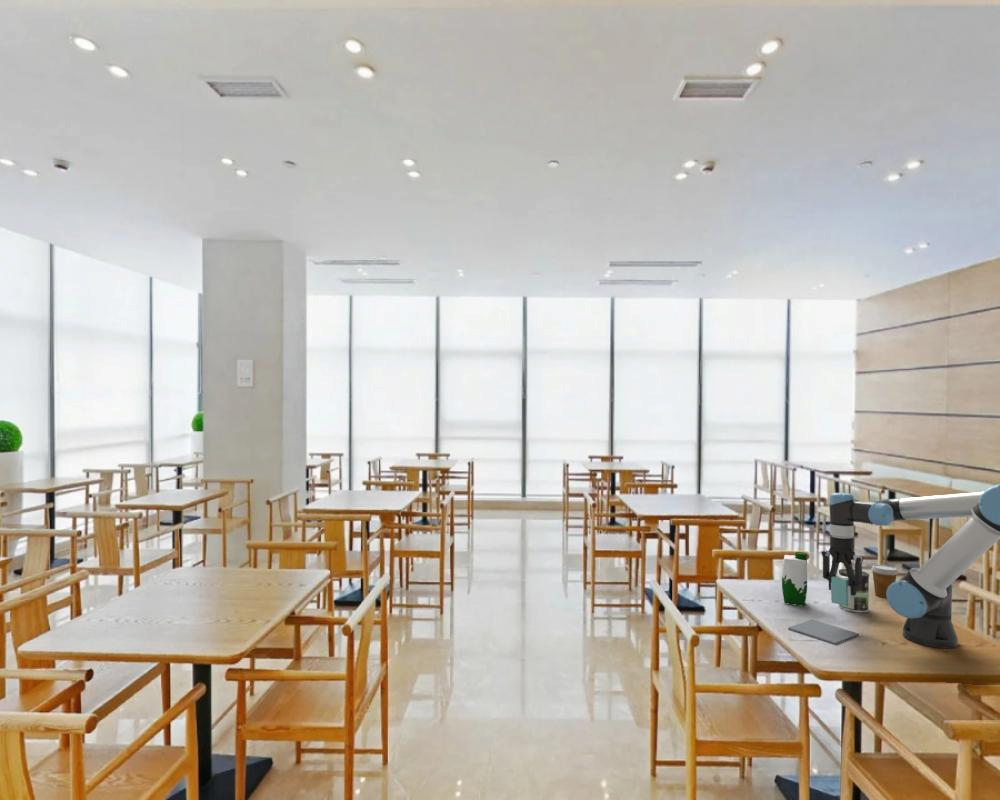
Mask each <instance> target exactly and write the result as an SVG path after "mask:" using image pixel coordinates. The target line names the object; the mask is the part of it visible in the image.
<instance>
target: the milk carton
mask: <svg viewBox="0 0 1000 800" xmlns="http://www.w3.org/2000/svg"><path fill="white" fill-rule="evenodd" d="M807 557H808V555H807V553H806V552H803V551H795V553H794V555H793V554H791V555H790V554H784V555H783V562H782V568H781V588H782V589H781V591H782V597H783V602H784V604H785V603H789V604H788V605H791V604H796V605H795V606H798V605H802V606H801V607H805V605H806V600H807V594H808V558H807Z"/></svg>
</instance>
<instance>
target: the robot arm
mask: <svg viewBox="0 0 1000 800" xmlns="http://www.w3.org/2000/svg"><path fill="white" fill-rule="evenodd" d="M828 506H829V535H830V536H829V546H830V547H829V548H828V550H822V551H821V552H820V553H821V555H822V578H823V579H825V580H827V581H828V591H830V599H831V601H832V579H831V577H833V576H837V574H838V570H839V566H840V563H841V564H843V566H844V569H846V571H847V575H848V579H849V583H850V585H849V586H848V605H852V604H854V595H856V586H859V585H862V571H863V567H862V566H863V561H864V557H863V556H859V555H857V554H856V553H855V549H854V548H855V539H854V536H855V532H854V531H855V530H854V529H855V527H854V523H864V524H867V525H868V524H869V525H875V526H890V525H891V524H892V522H896V521H897V522H898V521H909V520H928V519H930V520H932V519H945V518H946V519H947V518H950V519H951V518H966V517H967V518H968V517H970V518H969V519H968V520H967V522H965V523H964V524H963V525H962V526H961V527H960V528H959V529H958V530H957V531H956V532H955V533H954V534H953V535H952V536H951V537H949V538H948V540H947V541H946V542H945V543H944V544H943V545H941V547H940V548H939V549H938V550H937V551H936V552H935V553H934V554H933V555H932V556H931V557H929V558H928V559H927V560H926V562H924V563H923V564H922V565H921V566H919V567H911V568H910V569H909V570H908V571H907V572H906V573H905V574H904V575H903V576H901V578H900V579H899V580H896V581H895V582H893V583H892V584H891V585H890V586H889V587H888V589H887V592H886V596H887V598H886V599H887V600H886V601H887V603H888V605H889V606H890V608H891V609H892V610H893V611H894V612H895V613H896V614H898V615H900V616H901V617H903V618H906V620H905V622H904V625H903V627H902V636H903V637H904V638H906V639H907V640H909V641H911V640H912V641H911V642H913V641H914V642H913V643H917V644H919V643H920V645H923V646H927V647H933V648H940V649H954V648H957V647H958V645H959V643H958V642H959V640H958V636H957V633H956V629H955V627H954V625H953V622H952V613H953V612H952V609H953V607H952V605H953V604H952V603H953V586H954V585H953V583H954V582H955V581H956V580H957V579H958V578H959V577H960V576H962V575H963V574H964V573H965V572H966V571H967V570H968V569H969V568H971V566H972V565H974V564H975V563H976V562H977V561H978V560H979V559H980V558H981V557H982V556H983V555H984V554H985V553H986V552H987V551H989V550H990V548H992V546H994V545H995V544H997V542H998V541H999V540H1000V483H998V484H995V485H992V486H990V487H988V488H986V490H985V491H974V492H971V491H970V492H962V493H951V494H949V493H948V494H938V495H927V496H914V497H902V498H888V499H887V498H886V499H883V500H874V501H863V500H856V499H855V498H854V495H853V494H852V493H847V492H832V493H830V495H829V505H828ZM830 556H831V557H832V560H831V559H830ZM830 560H831V561H830ZM852 560H854V568H853V562H852ZM830 564H831V565H830ZM853 570H855V575H854V571H853Z"/></svg>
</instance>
